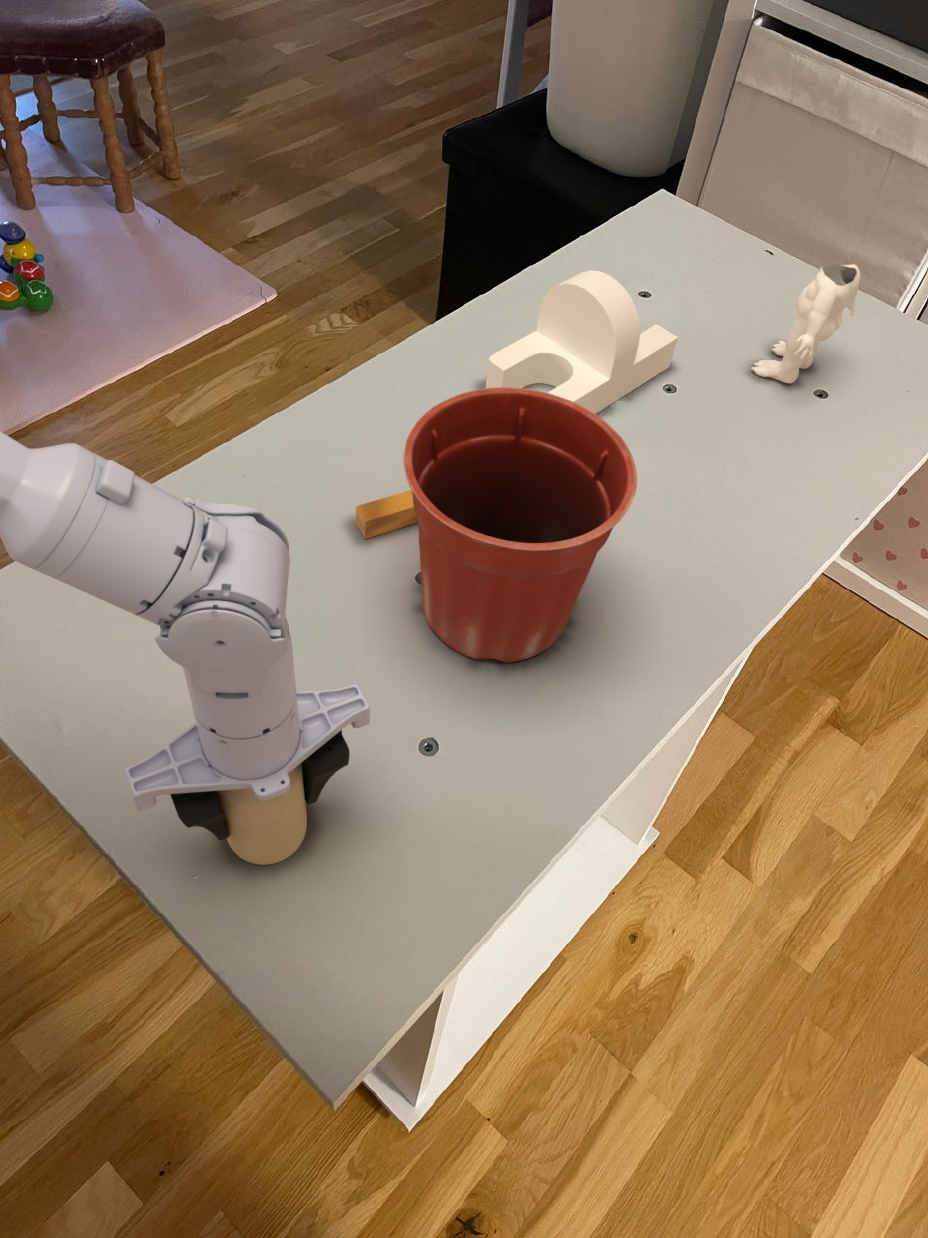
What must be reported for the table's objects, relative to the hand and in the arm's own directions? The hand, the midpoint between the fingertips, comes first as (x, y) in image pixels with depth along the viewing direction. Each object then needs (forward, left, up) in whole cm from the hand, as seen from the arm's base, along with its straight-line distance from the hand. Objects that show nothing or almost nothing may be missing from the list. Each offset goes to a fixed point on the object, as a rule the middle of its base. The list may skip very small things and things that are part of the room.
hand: (263, 809), depth 66 cm
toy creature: (+68, +27, -3) cm, 73 cm away
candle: (0, 0, -3) cm, 3 cm away
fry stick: (+24, +23, -3) cm, 33 cm away
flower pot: (+24, +11, -3) cm, 27 cm away
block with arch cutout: (+46, +34, -3) cm, 57 cm away
